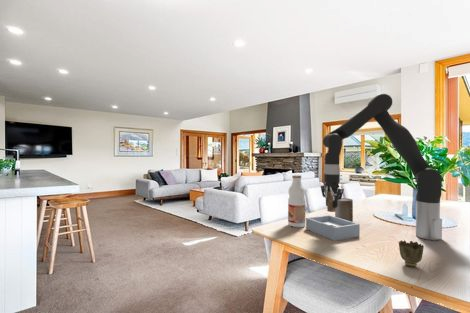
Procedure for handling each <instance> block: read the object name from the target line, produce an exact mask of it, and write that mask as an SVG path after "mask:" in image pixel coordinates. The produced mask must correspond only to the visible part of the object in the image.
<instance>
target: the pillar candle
mask: <svg viewBox="0 0 470 313" xmlns="http://www.w3.org/2000/svg"><path fill="white" fill-rule="evenodd" d="M353 212H354V207H353V199H352V198H348V197H347V198H345V197H342V198H341V200H338V206H337V208H336V212H334V217H337V218H340V219H344V220H347V221H351V222H354V221H353V220H354V219H353V218H354V215H353Z"/></svg>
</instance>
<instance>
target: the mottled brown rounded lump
mask: <svg viewBox="0 0 470 313" xmlns="http://www.w3.org/2000/svg"><path fill="white" fill-rule="evenodd" d="M424 247H425V246H424V244H422V243H418V241H412V240H410V241H409V242H407V241H406V240H405V239H404V240H400V241H398V248H399V254H400V258H402V260H403V261H404V265H405V266H407V267H409V268H417V267H418V264H419V263H420V262H421V261H422V259H423V255H424V254H423V253H424Z"/></svg>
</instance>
